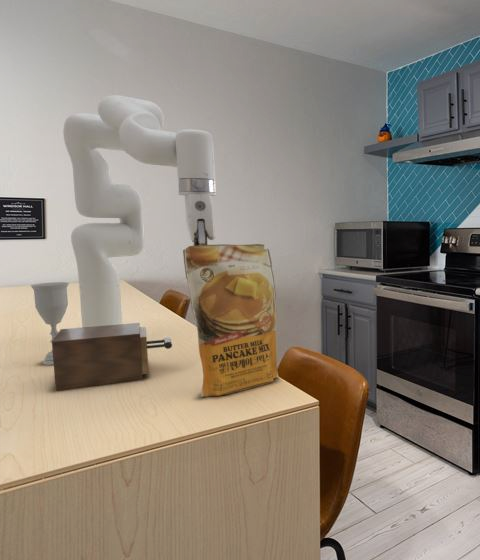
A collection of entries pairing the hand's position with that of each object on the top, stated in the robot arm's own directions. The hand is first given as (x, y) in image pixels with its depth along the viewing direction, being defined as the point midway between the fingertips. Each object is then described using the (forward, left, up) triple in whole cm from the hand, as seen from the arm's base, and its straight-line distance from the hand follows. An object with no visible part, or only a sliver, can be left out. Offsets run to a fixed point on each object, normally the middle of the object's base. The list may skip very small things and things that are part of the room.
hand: (201, 271), depth 113 cm
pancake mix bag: (+20, +4, -21) cm, 29 cm away
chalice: (-18, -30, -21) cm, 41 cm away
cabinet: (0, -20, -21) cm, 29 cm away
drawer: (0, -16, -20) cm, 26 cm away
